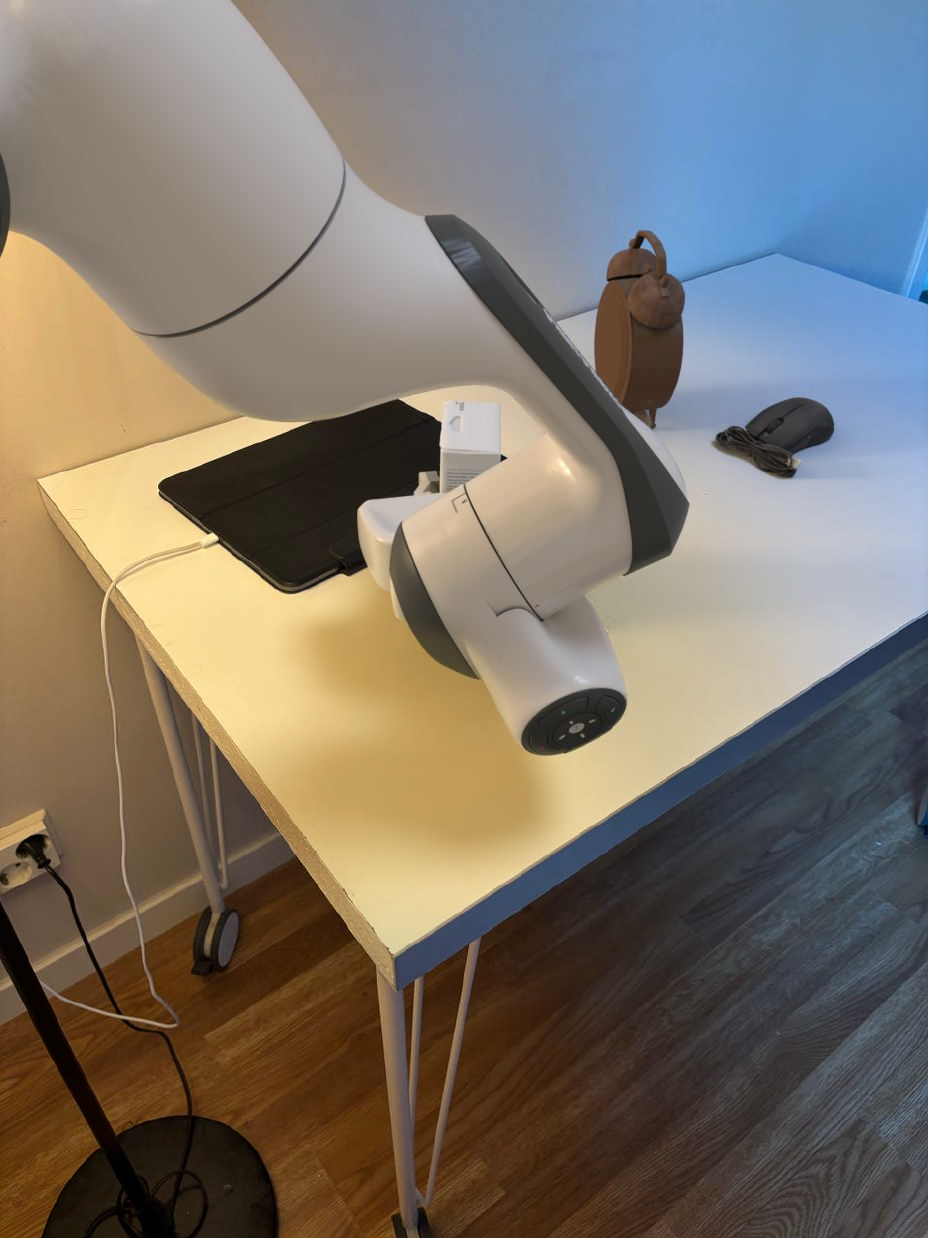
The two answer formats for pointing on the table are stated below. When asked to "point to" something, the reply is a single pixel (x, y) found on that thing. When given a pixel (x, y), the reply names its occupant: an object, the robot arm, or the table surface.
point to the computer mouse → (781, 433)
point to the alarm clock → (640, 327)
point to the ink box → (468, 441)
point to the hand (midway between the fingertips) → (466, 474)
